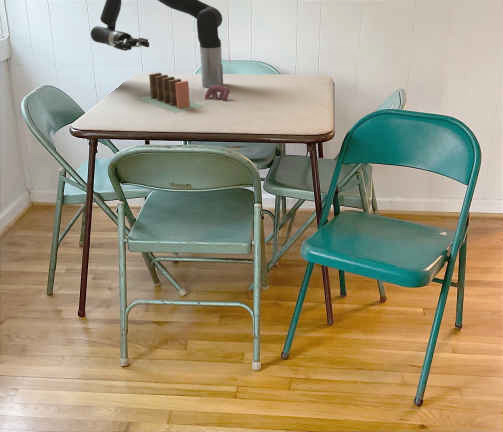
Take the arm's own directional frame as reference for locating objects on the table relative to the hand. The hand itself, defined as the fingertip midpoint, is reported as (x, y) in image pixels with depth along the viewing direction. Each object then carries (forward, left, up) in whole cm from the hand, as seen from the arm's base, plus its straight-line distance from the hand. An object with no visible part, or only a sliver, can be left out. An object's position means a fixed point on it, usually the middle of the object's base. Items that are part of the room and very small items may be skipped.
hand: (139, 45), depth 266 cm
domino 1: (-6, +9, -20) cm, 23 cm away
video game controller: (-30, +17, -21) cm, 40 cm away
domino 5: (-16, +27, -20) cm, 37 cm away
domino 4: (-13, +22, -20) cm, 33 cm away
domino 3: (-11, +18, -20) cm, 29 cm away
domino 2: (-8, +14, -20) cm, 26 cm away
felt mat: (-11, +18, -20) cm, 29 cm away
